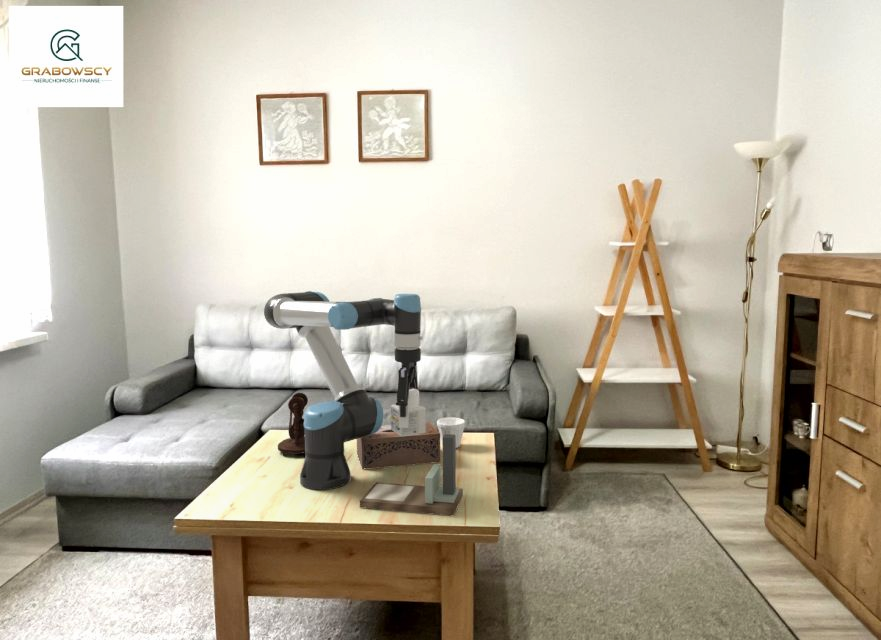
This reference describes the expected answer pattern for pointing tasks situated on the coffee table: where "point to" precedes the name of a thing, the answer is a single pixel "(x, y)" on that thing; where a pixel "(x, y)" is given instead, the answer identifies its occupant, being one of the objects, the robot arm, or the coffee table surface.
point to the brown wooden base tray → (405, 499)
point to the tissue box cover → (398, 448)
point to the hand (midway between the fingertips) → (408, 422)
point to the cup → (451, 428)
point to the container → (410, 415)
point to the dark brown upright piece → (295, 426)
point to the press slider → (449, 475)
